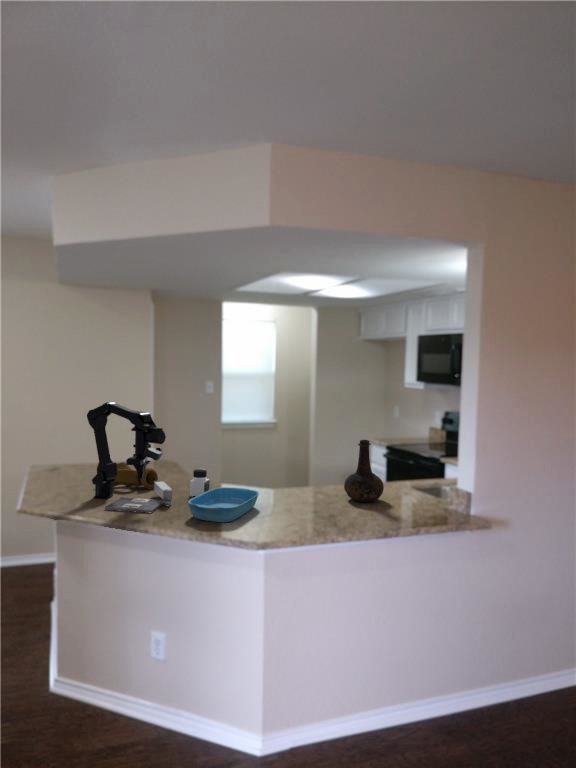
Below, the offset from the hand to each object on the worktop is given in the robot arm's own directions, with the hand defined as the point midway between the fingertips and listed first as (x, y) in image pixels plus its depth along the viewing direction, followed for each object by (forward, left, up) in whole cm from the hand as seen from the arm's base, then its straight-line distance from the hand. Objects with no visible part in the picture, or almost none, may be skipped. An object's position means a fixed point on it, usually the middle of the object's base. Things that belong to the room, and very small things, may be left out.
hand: (141, 478), depth 237 cm
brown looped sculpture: (-17, +26, -11) cm, 33 cm away
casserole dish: (+38, -4, -12) cm, 40 cm away
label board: (+2, -5, -11) cm, 12 cm away
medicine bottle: (+20, +20, -11) cm, 30 cm away
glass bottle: (+95, +31, -11) cm, 101 cm away
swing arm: (+8, +7, -9) cm, 13 cm away
